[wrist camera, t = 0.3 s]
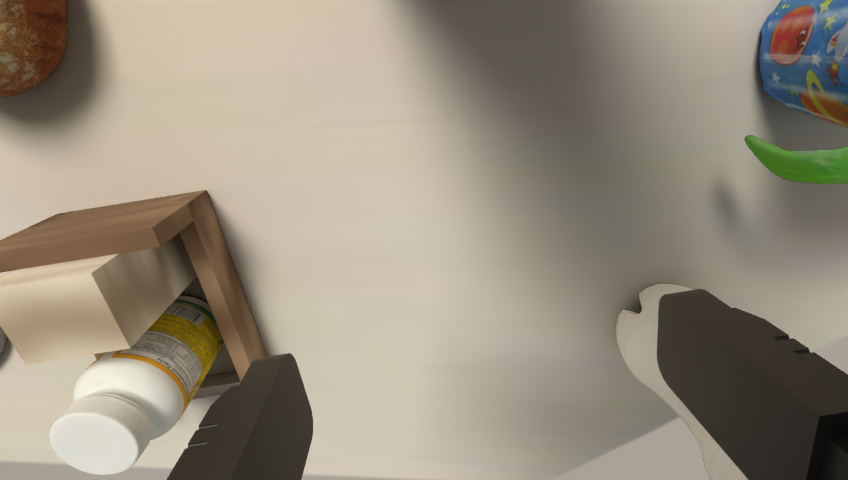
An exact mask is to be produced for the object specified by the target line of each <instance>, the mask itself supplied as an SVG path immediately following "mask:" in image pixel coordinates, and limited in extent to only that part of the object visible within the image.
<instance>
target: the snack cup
mask: <svg viewBox="0 0 848 480" xmlns="http://www.w3.org/2000/svg"><path fill="white" fill-rule="evenodd" d="M761 33H762V40H761V45H760V53H759V60H760V72H761V76H762V81H763V83H764V88H763V89H764V90H765V91H766V92H767V93H768V94H770V96H771V97H772V98H773V99H775V100H777V101H780V102H781V103H783V104H785V105H786V106H787V107H789V108H793V109H795V110H798V111H801V112H803V113H805V114H807V115H812V116H814V117H817V118H820V119H823V120H826V121H829V122H832V123H835V124H838V125H841V126H844V127H847V128H848V0H781V2H780V3H779V4H778V6H777V7H776V9H775V10H774V11H773V12H772V13H771V14H770V15H769V16H768V17H767V20H766V22H765V23H764V25H763V27H762V29H761ZM745 142H746V144H747V146H748V147H749V149H750V150H751V151H752V152H753V153H754V154H755V156H756V157H757V158H758V159H759V160H760V161H761V162H762V163H763V164H764V165H765V166H766V167H767V168H768V169H769V170H770V171H772V172H773V173H774V174H775V175H777V176H779V177H781V178H783V179H787V180H790V181H797V182H807V183H819V184H834V183H840V184H844V183H848V146H847V147H845V148H841V149H834V150H813V151H786V150H784V149H782V148H780V147H778V146H775V145H773V144H771V143H769V142H767V141H764V140H762V139H760V138H757V137H755V136H753V135H748V136H746V137H745Z"/></svg>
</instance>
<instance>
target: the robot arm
mask: <svg viewBox="0 0 848 480" xmlns="http://www.w3.org/2000/svg"><path fill="white" fill-rule="evenodd" d="M657 362H658V366H659V370H660V372H661V375H662V377H663V379H664V381H665V382H666V384H667V385H668V386H669V388H670V389H671V390H672V391H673V392H674V393H675V395H676V396H677V397H678V398H679V399H680V400H681V402H682V403H683V404H684V405H685V406H686V407H687V409H688V410H689V411H690V412H691V413H692V414H693V416H694V417H695V418H696V419H697V420H698V421H699V423H700V424H701V425H702V426H703V427H704V428H705V430H706V431H707V432H708V433H709V434H710V435H711V437H712V438H713V439H714V440H715V441H716V443H717V444H718V445H719V446H720V447H721V448H722V450H723V451H724V452H725V453H726V454H727V455H728V457H729V458H730V459H731V460H732V461H733V462H734V464H735V465H736V466H737V467H738V468H739V469H740V471H741V472H742V473H743V474H744V475H745V476H746V478H747V479H748V480H848V375H847V374H846V373H844V372H843V371H841V370H840V369H838V368H837V367H835V366H834V365H832V364H830V363H829V362H828V361H826V360H825V359H823V358H822V357H820V356H819V355H817V354H816V353H814V352H813V353H810V351H809V349H808V348H807V347H805V346H804V345H802V344H801V343H799V342H798V341H796V340H795V339H790V338H789V336H788V335H787V334H786V333H784V332H783V331H781V330H780V329H778V328H777V327H775V326H774V325H772V324H771V323H769V322H768V321H766V320H765V319H763V318H760V317H757V316H755V315H752V314H750V313H747V312H745V311H742V310H739V309H737V308H730V307H729V306H728V305H726V304H725V303H723V302H722V301H720V300H719V299H718V298H716V297H715V296H713V295H712V294H710V293H709V292H708V291H706V290H703V289H695V290H689V291H683V292H677V293H670V294H665V295H663V296H662V297H661V298H660V301H659V308H658V334H657ZM312 435H313V417H312V411H311V407H310V404H309V401H308V398H307V394H306V391H305V388H304V385H303V382H302V379H301V376H300V372H299V369H298V366H297V363H296V360H295V358H294V357H293V355H292V354H290V353H288V354H282V355H275V356H269V357H263V358H257V359H254V360H253V361H252V363H251V364H250V366H249V368H248V370H247V372H246V374H245V375H244V377H243V379H242V381H241V383H240V385H237V386H231V387H230V388H229V389H228V390H227V391H226V392H225V393H224V394H223V395H222V396H221V397H220V398H218V399H217V400H216V401H215V402H214V403H213V404H212V405H211V407H210V408H209V410H208V412H207V413H206V415H205V417H204V418H203V420H202V422H201V423H200V425H199V430H196V432H195V433H194V435H193V437H192V438H191V440H190V442H189V443H188V448H187V449H185V450H184V452H183V453H182V455H181V457H180V458H179V460H178V462H177V463H176V465H175V467H174V468H173V470H172V472H171V473H170V475H169V477H168V478H167V480H301V478H302V475H303V471H304V467H305V463H306V459H307V456H308V452H309V448H310V444H311V440H312Z"/></svg>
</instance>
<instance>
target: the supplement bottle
mask: <svg viewBox="0 0 848 480" xmlns="http://www.w3.org/2000/svg"><path fill="white" fill-rule="evenodd" d="M224 344H225V342H224V340H223V338H222V335H221V333H220V330H219V328H218V325H217V323H216V321H215V318H214V316H213V313H212V311H211V308H210V306H209V304H207V303H206V302H204V301H202V300H199V299H197V298H194V297H190V296H180V295H179V296H178V297H177V298H176V299H175V301H174V302H173V303H172V304H171V305H170V306H169V307H168V308H167V309H166V310H165V311H164V312H163V314H162V315H161V316H160V317H159V318H158V319H157V320H156V321H155V322H154V323H153V324H152V325H151V327H150V328H149V329H148V330H147V331H146V332H145V333H144V334H143V335H142V336H141V337H140V338H139V339H138V341H137V342H136V343H135V344H134V345H133V346H132V347H131V348H130V349H123V350H117V351H111V352H104V353H103V354H102V355H101V356H100V357H99V358H98V359H97V360H96V361H95V362H93V363H92V364H91V365H90V366H89V367H88V368H87V369H86V370H85V372H84V373H83V374H82V375H81V376H80V378H79V380H78V381H77V384H76V386H75V389H74V396H73V399H74V402H73V403H72V404H71V405H70V406H69V407H68V408H67V410H66V411H65V412H64V413H63V414H62V415H61V416H60V417H59V419H58V420H57V421H56V422H55V423H54V425H53V426H52V428H51V430H50V435H49V439H50V443H51V446H52V448H53V450H54V451H55V453H56V454H57V455H58V457H60V458H61V459H62V460H63V461H64V462H66V463H67V464H69V465H70V466H72V467H74V468H76V469H78V470H81V471H84V472H87V473H91V474H97V475H110V474H116V473H120V472H122V471H125V470H127V469H128V468H130V467H131V466H132V465H133V464H134V463H135V462H136V461H137V460H138V458H139V457H140V455H141V454H142V452H143V451H144V449H145V448H146V447H147V446H148V444H149V442H150V440H153V439H155V438H158V437H160V436H162V435H163V434H165V433H167V432H168V431H169V430H170V429H171V428H172V427H173V426H174V425H175V424H176V423H177V421H178V420H179V419H180V417H181V416H182V414H183V412H184V411H185V409H186V408H187V406H188V404H189V403H190V401H191V400H192V398H193V396H194V395H195V393H196V391H197V390H198V388H199V387H200V385H201V383H202V382H203V380H204V378H205V376H206V375H207V373H208V372H209V370H210V368H211V367H212V365H213V363H214V362H215V360H216V359H217V357H218V355H219V354H220V351H221V350H222V348H223V346H224Z"/></svg>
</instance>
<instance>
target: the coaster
mask: <svg viewBox="0 0 848 480" xmlns="http://www.w3.org/2000/svg"><path fill="white" fill-rule="evenodd" d="M6 343H7V335H6V334H5V332H4V331H3V329H2V328H1V326H0V356H1V355H2V353H3V351H4V349H5V346H6Z"/></svg>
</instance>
